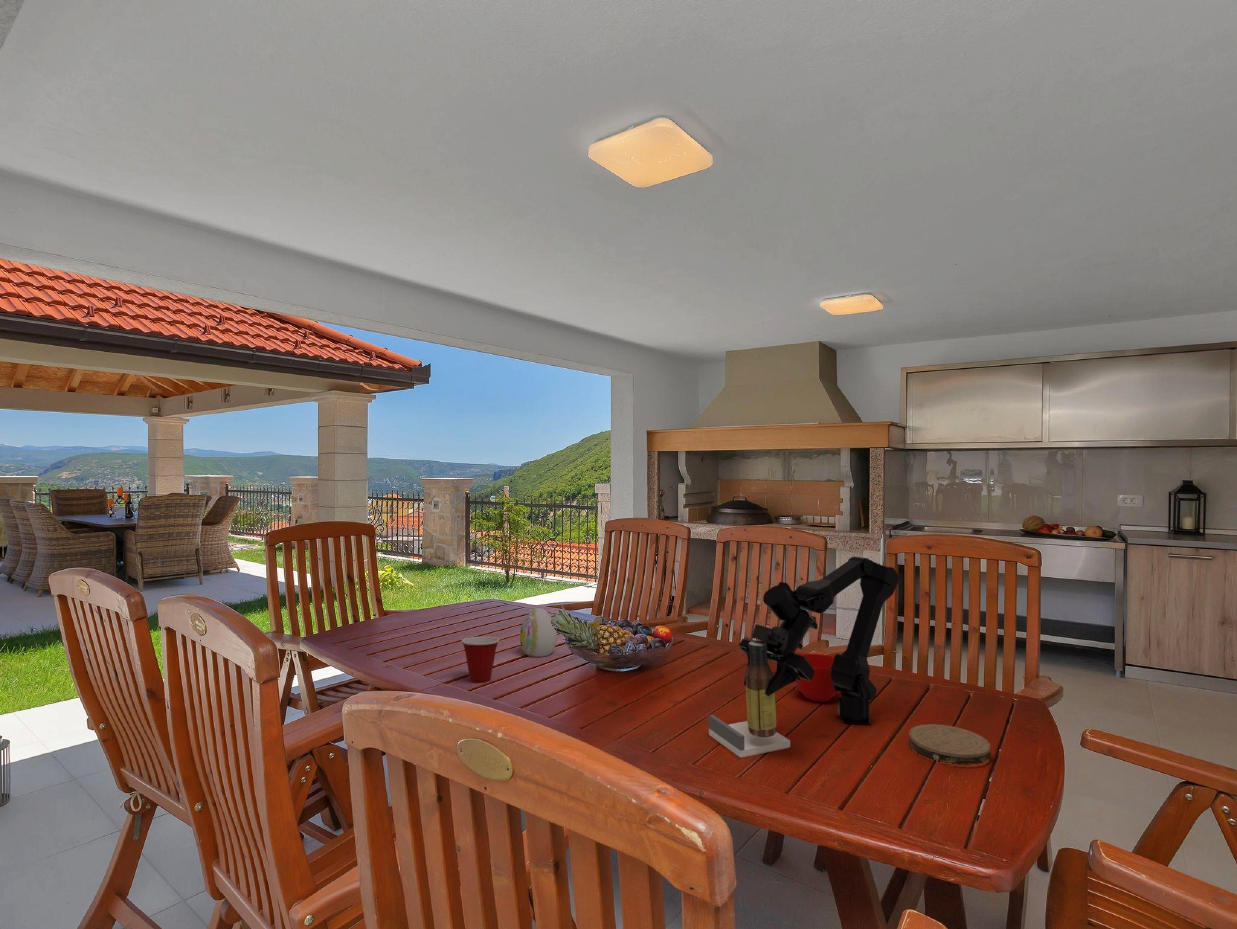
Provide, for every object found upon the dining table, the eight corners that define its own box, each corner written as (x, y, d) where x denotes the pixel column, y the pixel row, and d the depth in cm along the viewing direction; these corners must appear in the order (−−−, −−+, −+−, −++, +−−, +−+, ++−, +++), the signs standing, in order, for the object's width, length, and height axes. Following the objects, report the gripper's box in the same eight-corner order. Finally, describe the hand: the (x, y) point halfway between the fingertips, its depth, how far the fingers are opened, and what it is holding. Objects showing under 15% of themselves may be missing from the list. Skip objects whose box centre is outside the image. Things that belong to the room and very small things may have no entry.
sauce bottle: (778, 729, 145) (777, 640, 145) (774, 740, 139) (773, 648, 139) (748, 725, 148) (747, 637, 148) (743, 736, 142) (742, 645, 142)
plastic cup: (504, 674, 195) (503, 634, 195) (493, 686, 185) (493, 644, 185) (468, 673, 196) (468, 633, 196) (456, 685, 186) (456, 643, 186)
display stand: (755, 725, 156) (755, 706, 156) (790, 747, 144) (790, 727, 144) (708, 734, 151) (708, 715, 151) (740, 757, 139) (740, 736, 139)
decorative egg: (517, 650, 220) (517, 605, 220) (552, 647, 224) (552, 603, 224) (523, 660, 209) (523, 613, 209) (560, 657, 212) (560, 611, 212)
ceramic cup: (862, 709, 167) (862, 670, 167) (794, 704, 170) (794, 666, 170) (854, 691, 179) (854, 655, 179) (791, 687, 183) (791, 652, 183)
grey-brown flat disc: (919, 731, 154) (919, 718, 154) (996, 749, 144) (996, 736, 144) (899, 755, 141) (899, 741, 141) (982, 777, 131) (982, 762, 131)
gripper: (743, 603, 153) (707, 658, 148) (804, 619, 138) (766, 681, 132) (768, 631, 158) (734, 685, 152) (830, 650, 142) (795, 711, 136)
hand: (755, 690), depth 143 cm, fingers closed on sauce bottle, 6 cm apart
